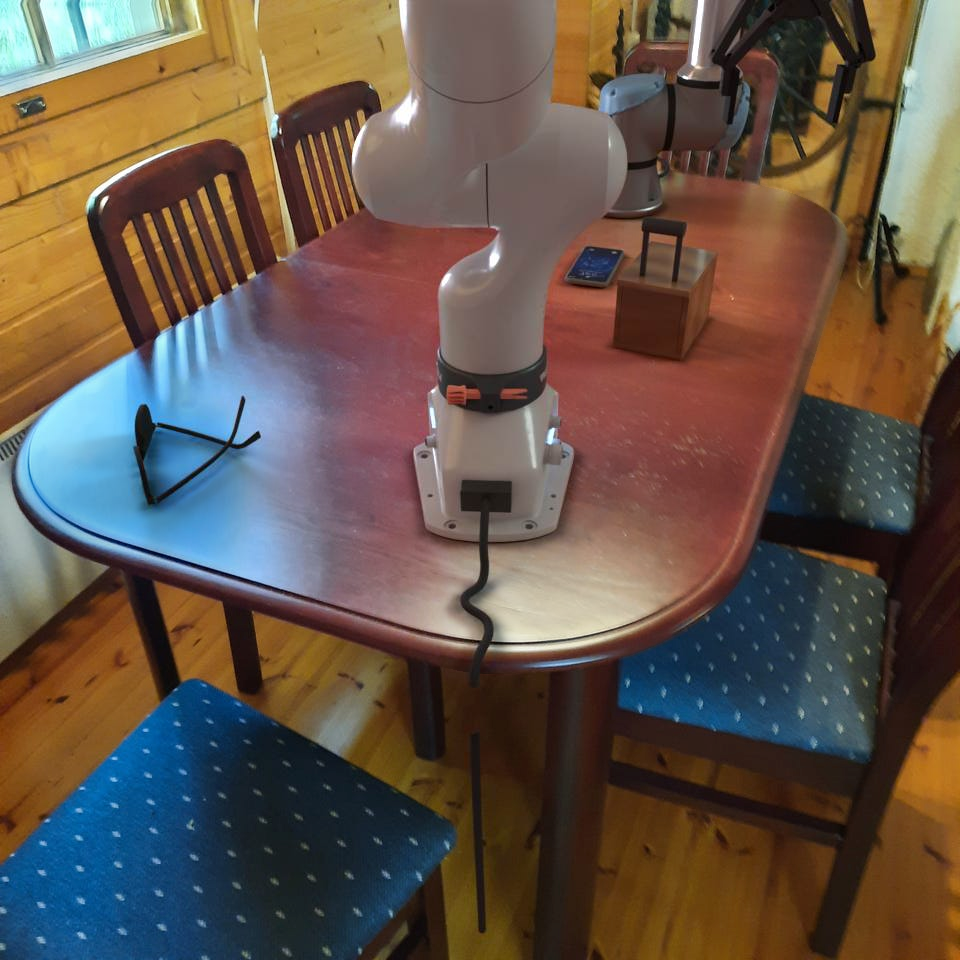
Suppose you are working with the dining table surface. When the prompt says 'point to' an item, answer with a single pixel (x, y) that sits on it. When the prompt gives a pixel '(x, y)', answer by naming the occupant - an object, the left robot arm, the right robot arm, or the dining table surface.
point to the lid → (667, 261)
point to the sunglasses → (147, 427)
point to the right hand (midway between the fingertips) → (779, 121)
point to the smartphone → (595, 266)
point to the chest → (661, 319)
